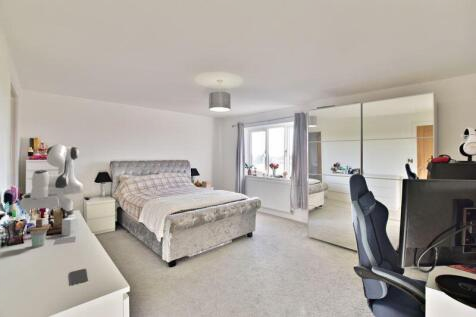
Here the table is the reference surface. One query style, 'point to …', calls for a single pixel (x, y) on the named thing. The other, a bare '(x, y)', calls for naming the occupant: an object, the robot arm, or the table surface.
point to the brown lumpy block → (56, 221)
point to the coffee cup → (38, 238)
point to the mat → (64, 240)
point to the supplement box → (69, 226)
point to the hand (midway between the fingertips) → (39, 215)
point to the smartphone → (78, 276)
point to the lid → (38, 226)
